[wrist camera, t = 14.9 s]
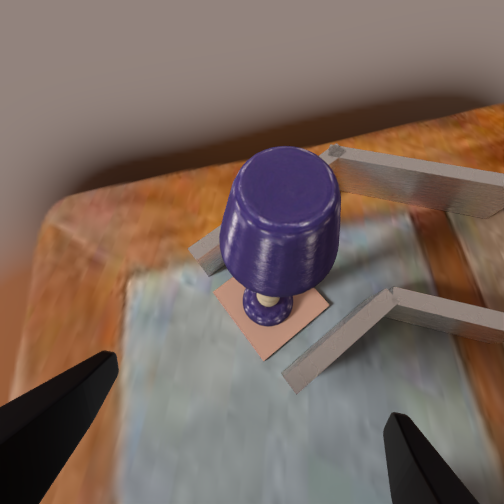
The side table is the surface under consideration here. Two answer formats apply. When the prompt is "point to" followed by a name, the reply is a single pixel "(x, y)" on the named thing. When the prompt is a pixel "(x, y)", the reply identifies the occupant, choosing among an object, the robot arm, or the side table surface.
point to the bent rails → (394, 299)
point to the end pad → (269, 337)
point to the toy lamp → (280, 229)
